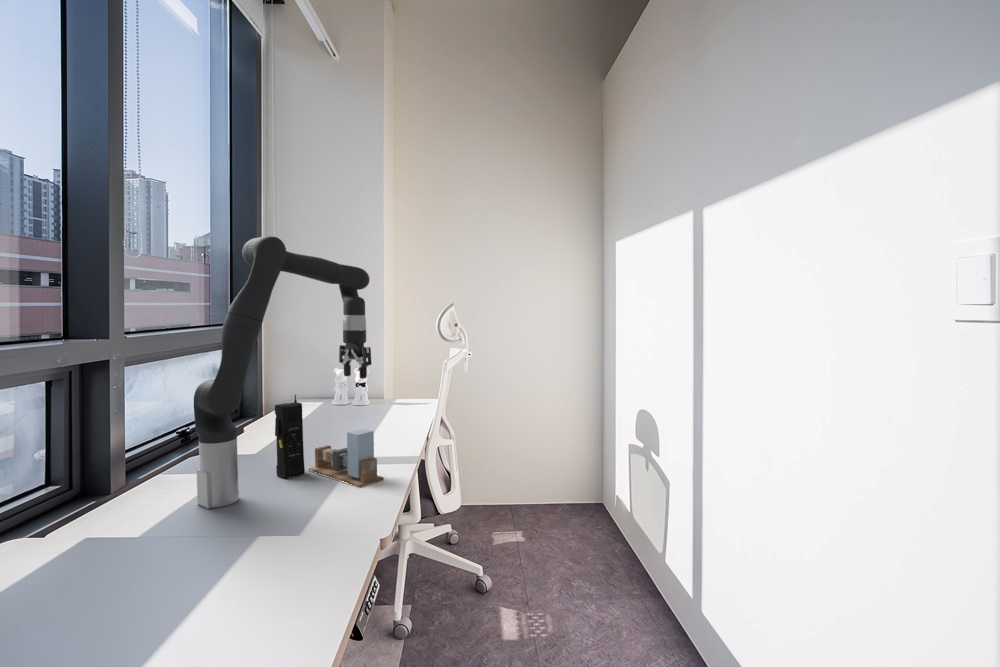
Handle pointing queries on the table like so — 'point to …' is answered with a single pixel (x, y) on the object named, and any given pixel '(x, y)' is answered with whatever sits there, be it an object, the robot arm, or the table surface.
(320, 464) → the stand
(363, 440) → the sleeve
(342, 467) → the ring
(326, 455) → the white long bar
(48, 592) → the table surface
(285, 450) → the portable radio
